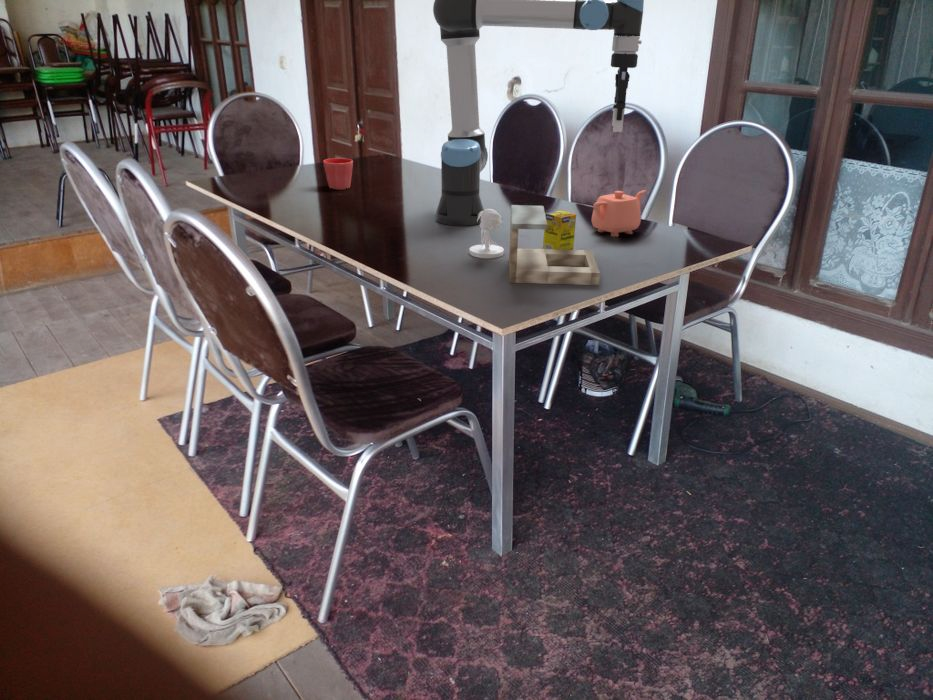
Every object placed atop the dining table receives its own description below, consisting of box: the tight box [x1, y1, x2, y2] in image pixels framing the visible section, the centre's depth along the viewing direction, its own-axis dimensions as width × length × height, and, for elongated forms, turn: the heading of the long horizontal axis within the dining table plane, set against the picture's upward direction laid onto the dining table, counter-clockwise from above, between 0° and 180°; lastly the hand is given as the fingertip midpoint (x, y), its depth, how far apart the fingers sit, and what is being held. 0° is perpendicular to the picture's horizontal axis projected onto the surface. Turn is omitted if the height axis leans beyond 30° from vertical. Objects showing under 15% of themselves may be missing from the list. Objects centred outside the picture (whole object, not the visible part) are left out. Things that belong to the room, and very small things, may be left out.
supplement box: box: [542, 209, 577, 250], centre depth 185 cm, size 6×6×11 cm
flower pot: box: [323, 157, 354, 190], centre depth 257 cm, size 11×11×10 cm
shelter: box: [508, 204, 601, 286], centre depth 171 cm, size 21×18×14 cm
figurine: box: [468, 208, 505, 259], centre depth 184 cm, size 9×9×12 cm
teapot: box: [591, 189, 647, 238], centre depth 206 cm, size 20×12×12 cm, turn 124°
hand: (616, 128), depth 213 cm, fingers open, 13 cm apart
